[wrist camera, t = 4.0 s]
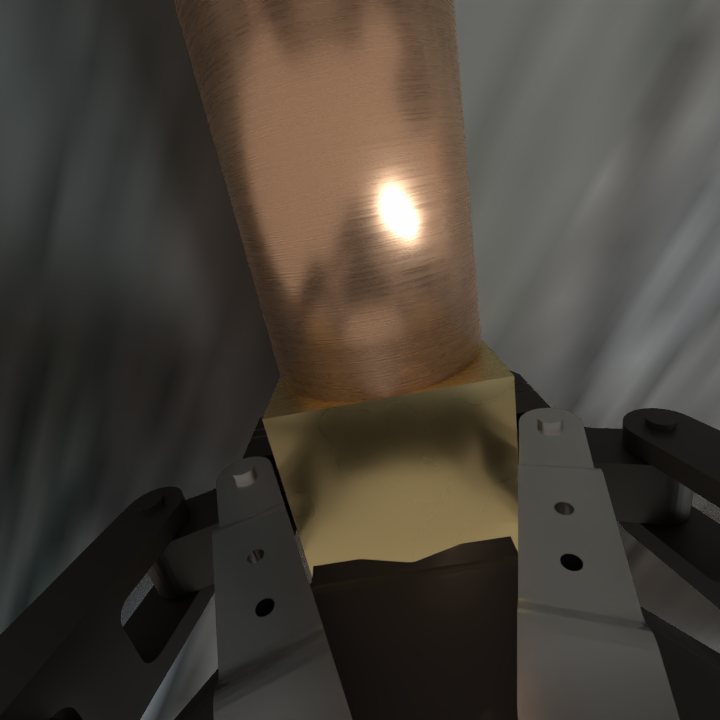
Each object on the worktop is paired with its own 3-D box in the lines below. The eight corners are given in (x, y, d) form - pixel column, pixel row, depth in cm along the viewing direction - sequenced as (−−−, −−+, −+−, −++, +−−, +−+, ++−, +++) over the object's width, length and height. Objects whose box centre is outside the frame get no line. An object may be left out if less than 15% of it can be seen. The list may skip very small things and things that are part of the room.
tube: (91, -447, 7) (-378, -1598, 3) (367, -530, 7) (396, -1988, 2) (329, 468, 15) (317, 595, 10) (468, 445, 14) (524, 564, 10)
